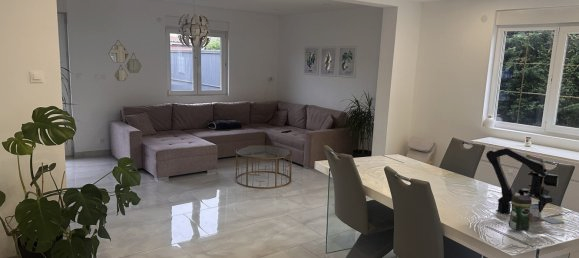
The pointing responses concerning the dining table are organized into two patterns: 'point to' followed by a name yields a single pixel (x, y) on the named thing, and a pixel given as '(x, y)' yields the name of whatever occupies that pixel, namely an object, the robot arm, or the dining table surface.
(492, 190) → the dining table surface
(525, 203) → the coffee jar
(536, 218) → the shelf bay
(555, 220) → the pad
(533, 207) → the medicine box
